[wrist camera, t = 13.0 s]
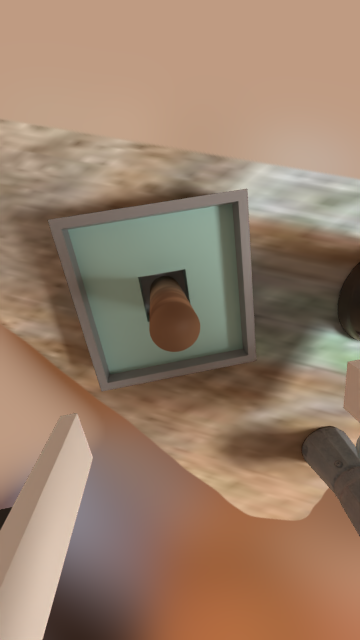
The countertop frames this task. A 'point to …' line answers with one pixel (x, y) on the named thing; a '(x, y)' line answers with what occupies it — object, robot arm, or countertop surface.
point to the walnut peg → (171, 316)
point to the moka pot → (336, 467)
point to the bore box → (151, 263)
